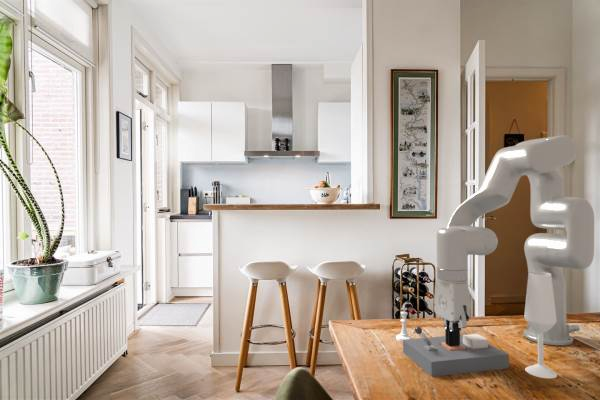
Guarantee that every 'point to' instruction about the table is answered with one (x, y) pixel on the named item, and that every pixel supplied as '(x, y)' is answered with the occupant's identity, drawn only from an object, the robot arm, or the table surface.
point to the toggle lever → (422, 336)
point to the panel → (453, 357)
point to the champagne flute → (540, 316)
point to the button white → (475, 341)
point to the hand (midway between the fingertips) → (452, 344)
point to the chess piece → (403, 327)
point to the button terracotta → (453, 347)
